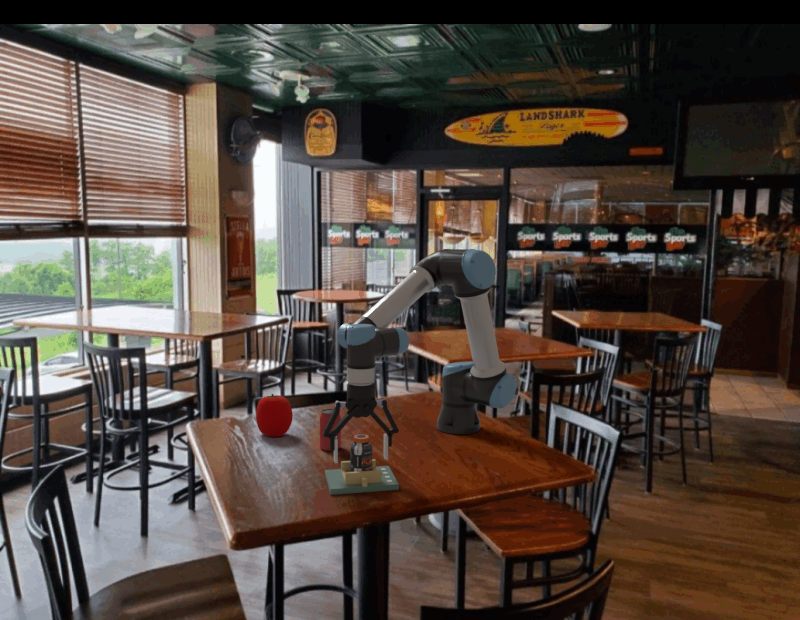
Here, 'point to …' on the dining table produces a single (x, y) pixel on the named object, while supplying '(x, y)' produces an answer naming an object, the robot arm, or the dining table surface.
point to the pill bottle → (361, 454)
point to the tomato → (274, 415)
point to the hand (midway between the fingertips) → (360, 460)
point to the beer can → (325, 440)
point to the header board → (360, 479)
